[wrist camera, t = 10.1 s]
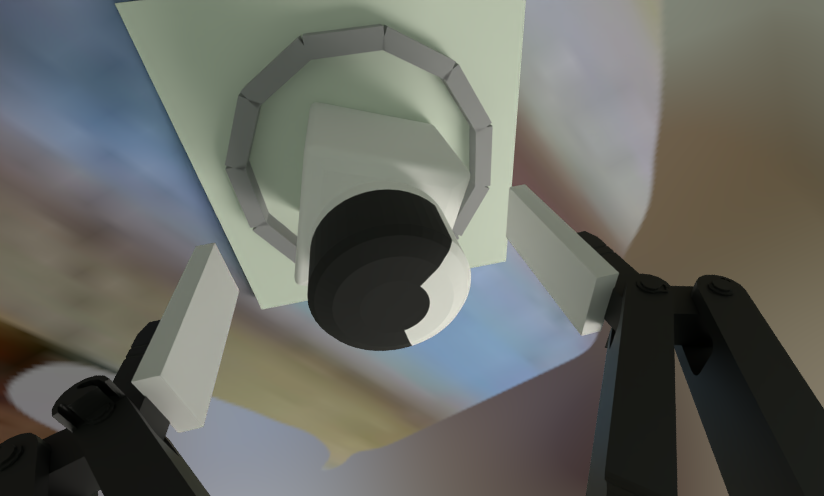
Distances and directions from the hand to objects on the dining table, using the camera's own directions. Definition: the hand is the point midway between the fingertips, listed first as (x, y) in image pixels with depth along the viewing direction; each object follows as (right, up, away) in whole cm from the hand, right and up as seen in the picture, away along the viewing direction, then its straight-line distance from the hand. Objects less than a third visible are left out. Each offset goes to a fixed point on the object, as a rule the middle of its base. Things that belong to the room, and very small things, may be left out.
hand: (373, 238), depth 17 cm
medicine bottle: (-1, +4, +6) cm, 8 cm away
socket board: (-1, +5, +7) cm, 8 cm away
